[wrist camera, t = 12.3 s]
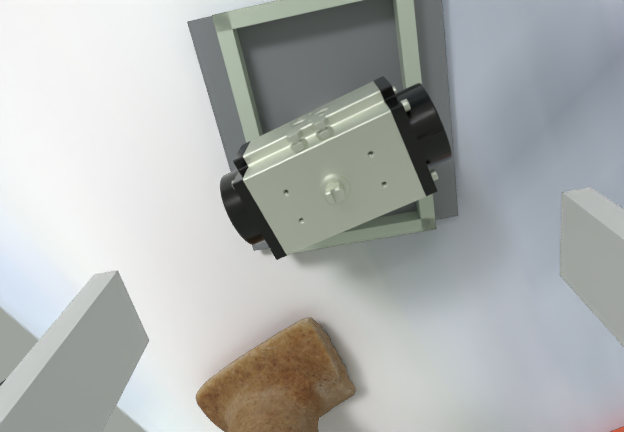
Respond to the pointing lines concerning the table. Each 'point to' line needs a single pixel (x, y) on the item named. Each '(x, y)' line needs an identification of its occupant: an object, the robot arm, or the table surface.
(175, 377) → the table surface
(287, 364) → the stone cup
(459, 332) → the table surface
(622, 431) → the french fries container
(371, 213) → the pneumatic valve
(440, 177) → the docking tray
